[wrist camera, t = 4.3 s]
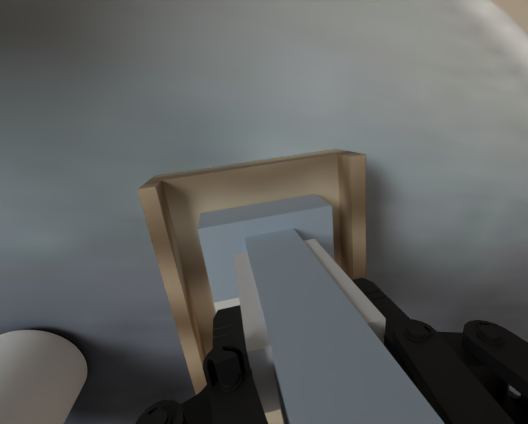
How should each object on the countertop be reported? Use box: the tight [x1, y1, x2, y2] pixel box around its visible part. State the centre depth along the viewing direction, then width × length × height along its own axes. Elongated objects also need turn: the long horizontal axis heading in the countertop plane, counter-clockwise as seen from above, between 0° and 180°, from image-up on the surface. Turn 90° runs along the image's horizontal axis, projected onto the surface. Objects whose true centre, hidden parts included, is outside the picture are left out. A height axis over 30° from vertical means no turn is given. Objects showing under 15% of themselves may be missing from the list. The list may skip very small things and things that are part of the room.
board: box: [137, 149, 366, 424], centre depth 22 cm, size 32×14×6 cm, turn 7°
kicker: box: [198, 194, 444, 424], centre depth 12 cm, size 6×8×15 cm
